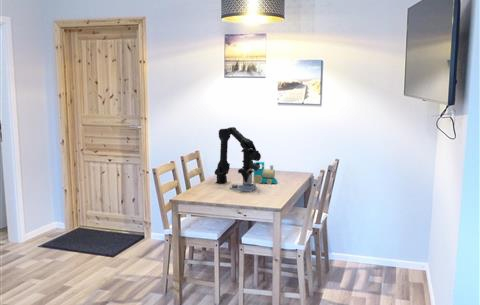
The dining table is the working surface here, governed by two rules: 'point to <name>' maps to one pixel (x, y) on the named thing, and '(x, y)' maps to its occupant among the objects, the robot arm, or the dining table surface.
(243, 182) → the grey block with tab
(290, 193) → the dining table surface
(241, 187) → the chassis
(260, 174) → the toy train
